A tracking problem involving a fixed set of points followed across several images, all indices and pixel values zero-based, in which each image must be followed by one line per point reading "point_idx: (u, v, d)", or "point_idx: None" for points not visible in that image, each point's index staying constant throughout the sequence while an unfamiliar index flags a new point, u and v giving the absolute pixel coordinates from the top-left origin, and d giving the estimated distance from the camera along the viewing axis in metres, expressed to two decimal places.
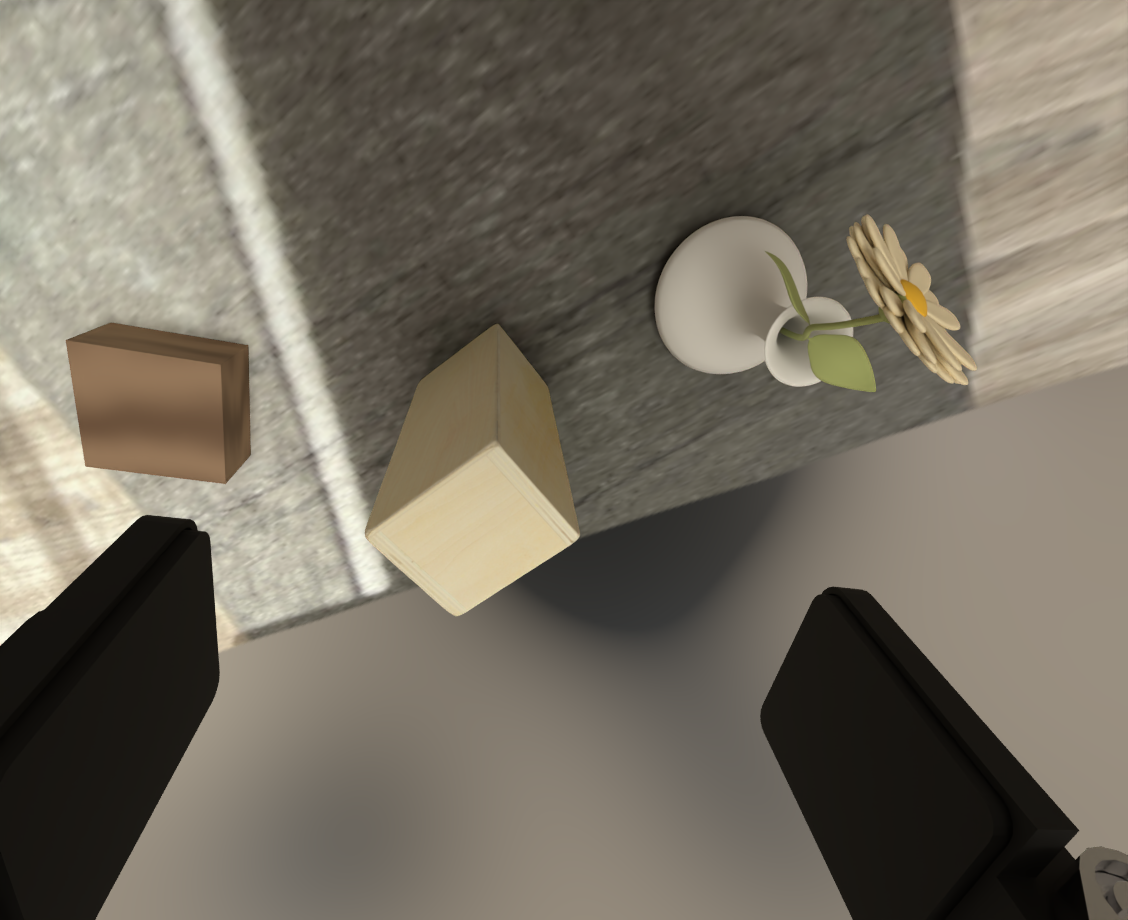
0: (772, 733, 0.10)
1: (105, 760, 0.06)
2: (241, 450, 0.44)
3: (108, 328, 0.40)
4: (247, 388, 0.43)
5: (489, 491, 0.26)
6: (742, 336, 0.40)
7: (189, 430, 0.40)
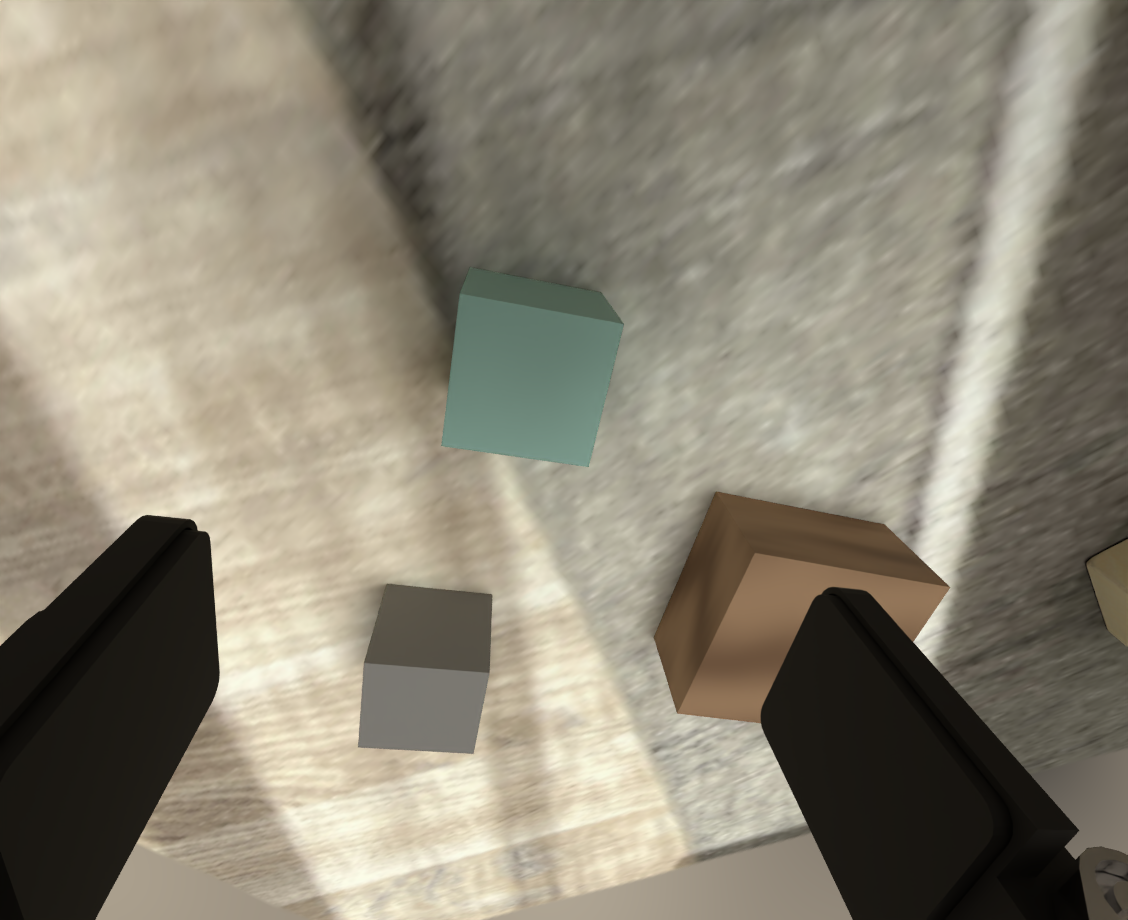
0: (772, 733, 0.10)
1: (105, 760, 0.06)
2: None
3: (736, 508, 0.26)
4: None
5: None
6: None
7: None
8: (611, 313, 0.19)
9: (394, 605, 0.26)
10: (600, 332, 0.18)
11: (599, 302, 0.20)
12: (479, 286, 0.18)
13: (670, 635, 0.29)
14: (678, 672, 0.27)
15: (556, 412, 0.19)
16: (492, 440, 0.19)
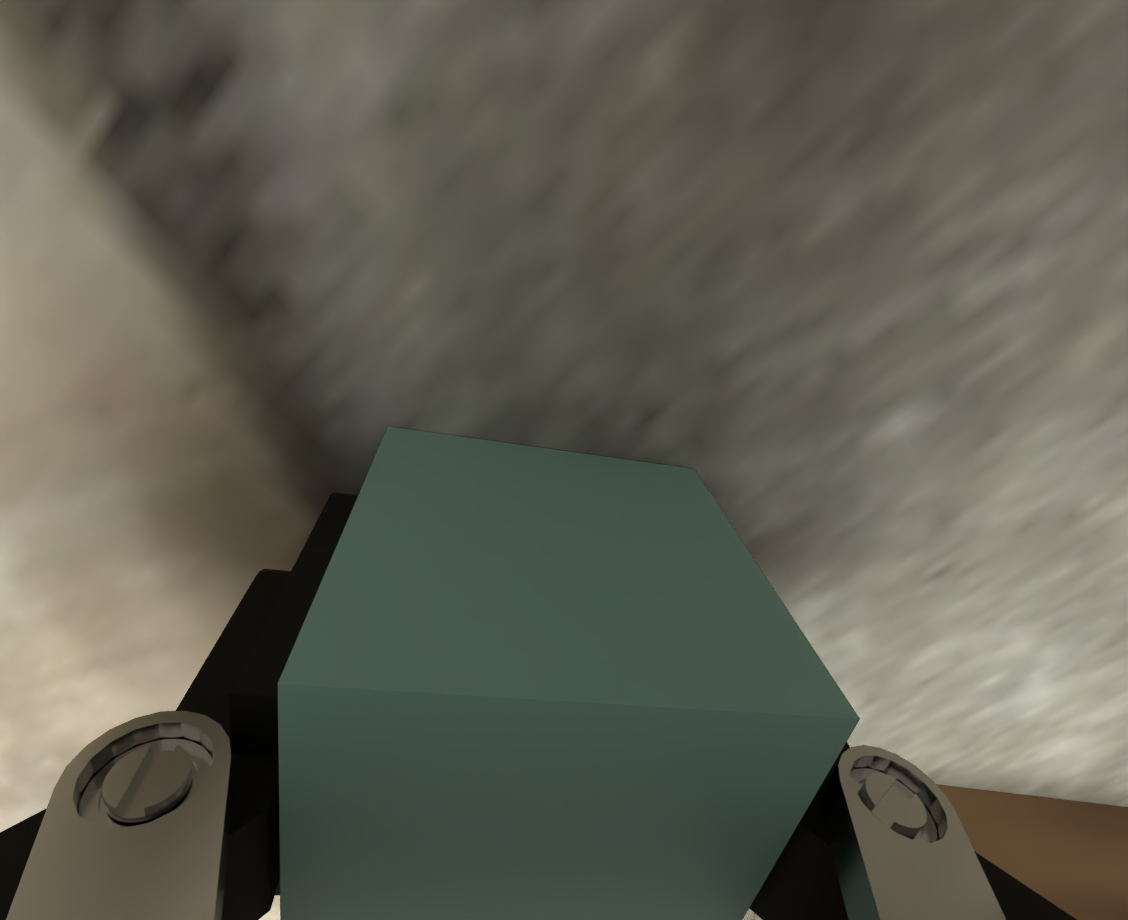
0: None
1: None
2: None
3: None
4: None
5: None
6: None
7: None
8: (780, 620, 0.06)
9: None
10: (780, 745, 0.05)
11: (718, 541, 0.08)
12: (383, 562, 0.06)
13: None
14: None
15: (619, 915, 0.06)
16: None
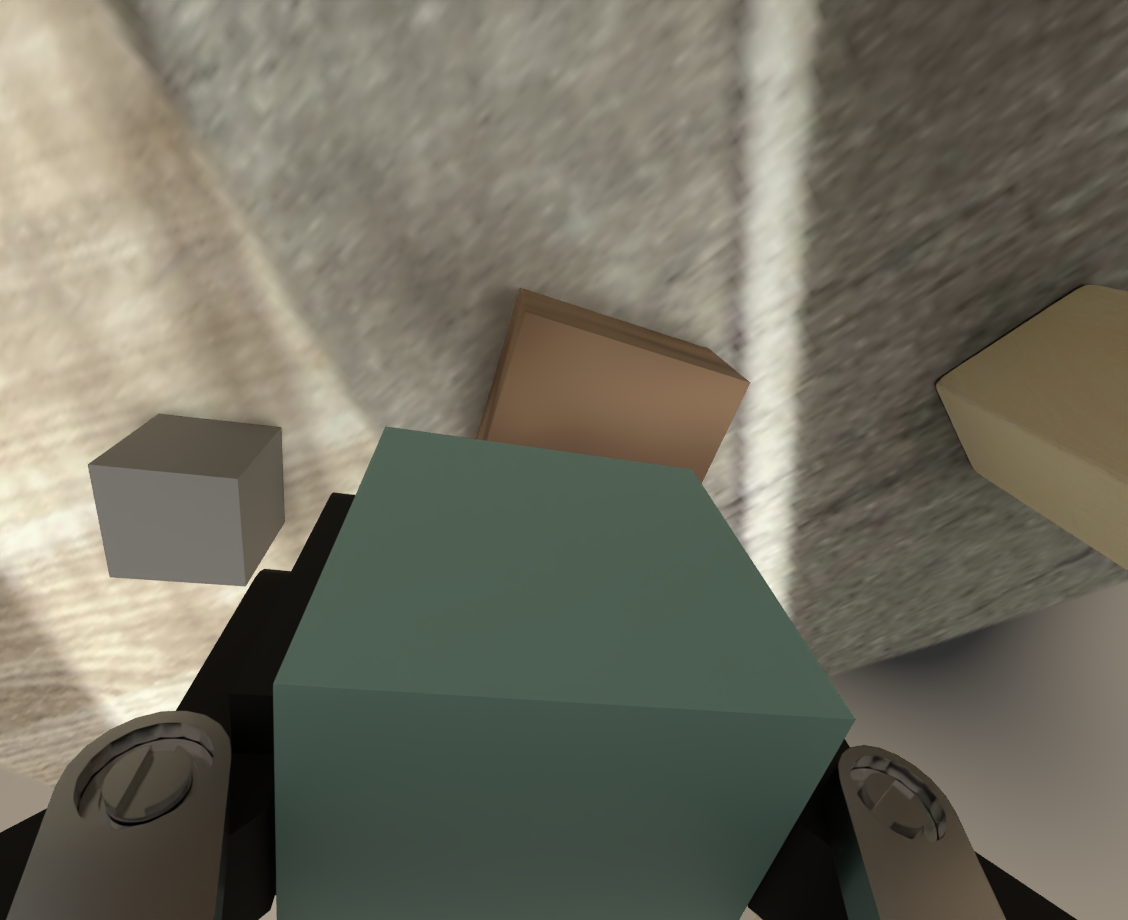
0: None
1: None
2: None
3: (534, 297, 0.23)
4: None
5: None
6: None
7: None
8: (776, 621, 0.06)
9: (156, 428, 0.24)
10: (775, 745, 0.05)
11: (715, 541, 0.08)
12: (379, 562, 0.06)
13: None
14: None
15: (616, 915, 0.06)
16: None
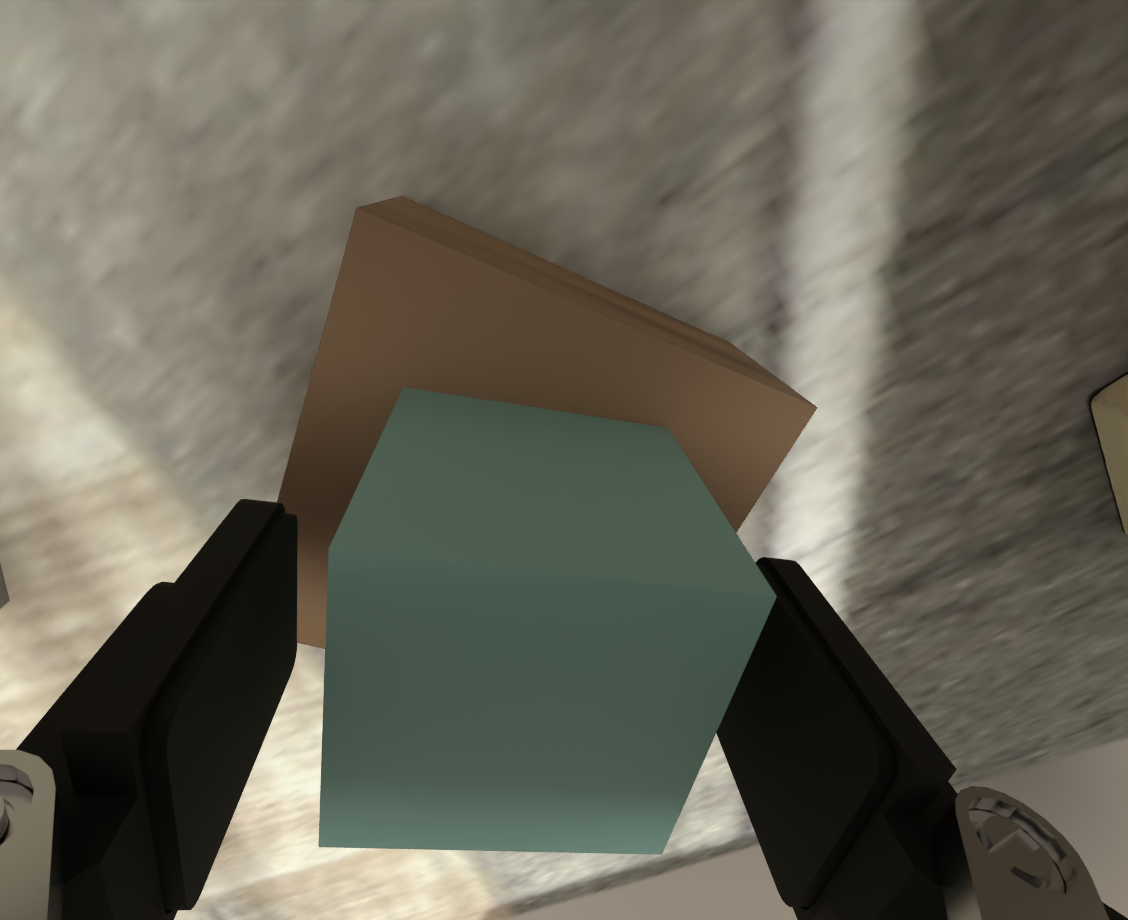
0: None
1: (229, 713, 0.07)
2: None
3: (416, 209, 0.12)
4: None
5: None
6: None
7: None
8: (724, 533, 0.08)
9: None
10: (713, 617, 0.07)
11: (681, 479, 0.09)
12: (403, 480, 0.07)
13: None
14: None
15: (592, 772, 0.08)
16: (442, 829, 0.08)
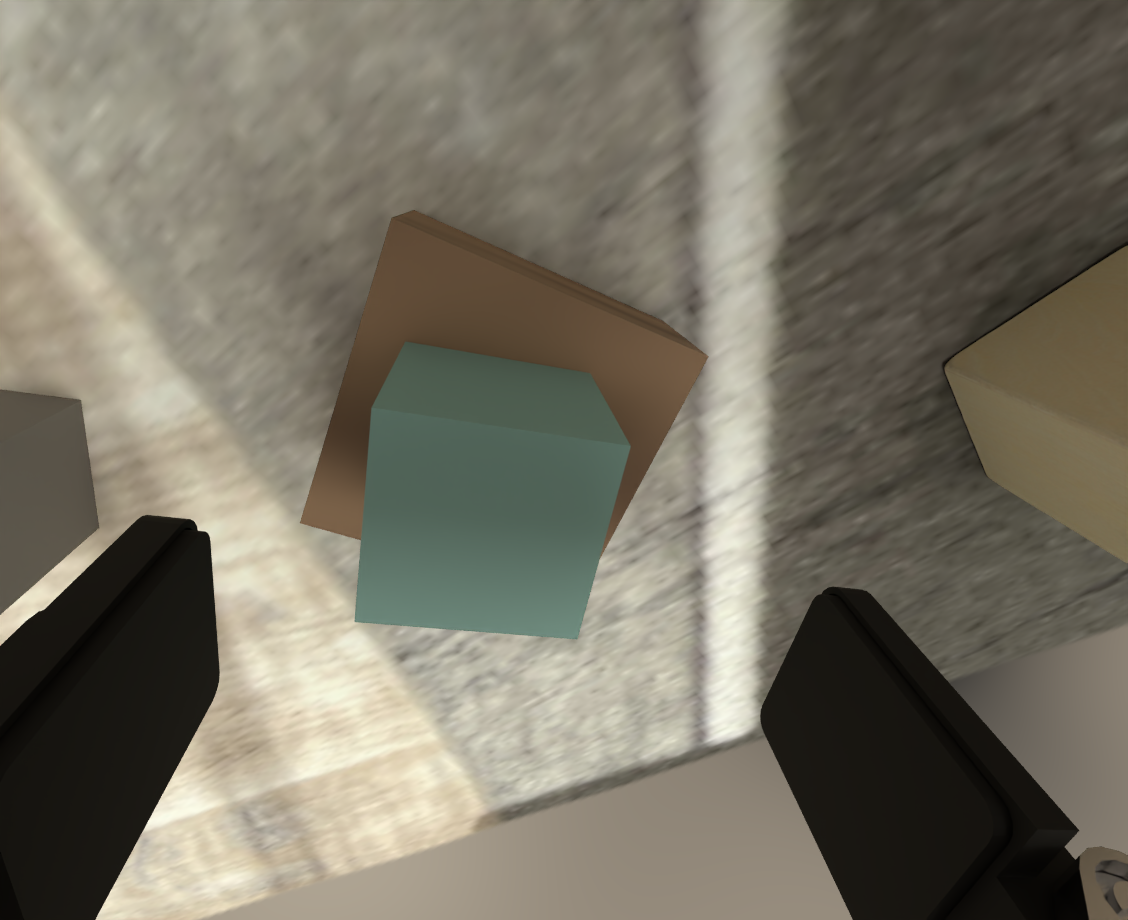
0: (772, 733, 0.10)
1: (105, 760, 0.06)
2: None
3: (426, 219, 0.17)
4: None
5: None
6: None
7: None
8: (609, 421, 0.13)
9: None
10: (595, 459, 0.12)
11: (590, 397, 0.14)
12: (409, 384, 0.12)
13: None
14: None
15: (527, 569, 0.13)
16: (433, 612, 0.13)
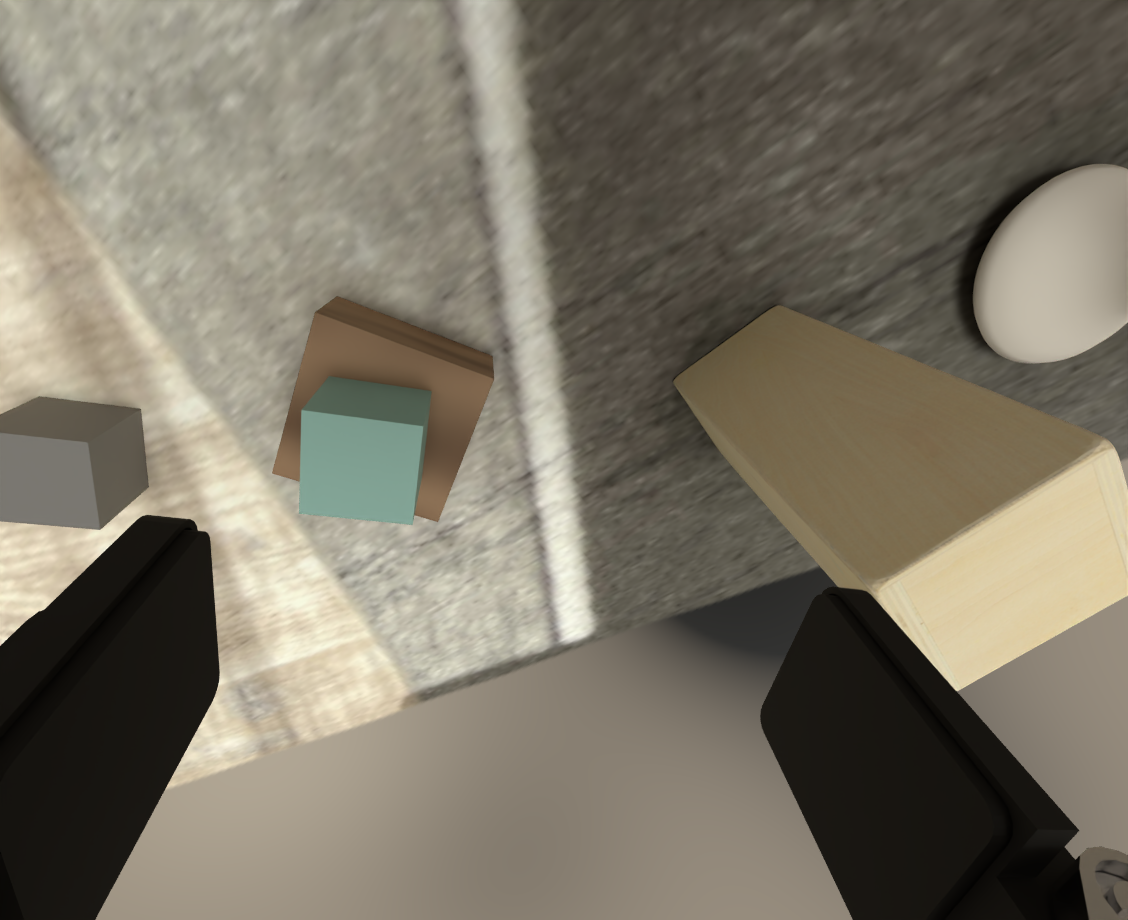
0: (772, 733, 0.10)
1: (105, 760, 0.06)
2: None
3: (342, 304, 0.31)
4: None
5: (1071, 517, 0.17)
6: (1119, 311, 0.31)
7: None
8: (421, 415, 0.26)
9: (33, 406, 0.31)
10: (406, 432, 0.25)
11: (420, 404, 0.28)
12: (323, 399, 0.26)
13: None
14: None
15: (382, 487, 0.26)
16: (337, 508, 0.26)
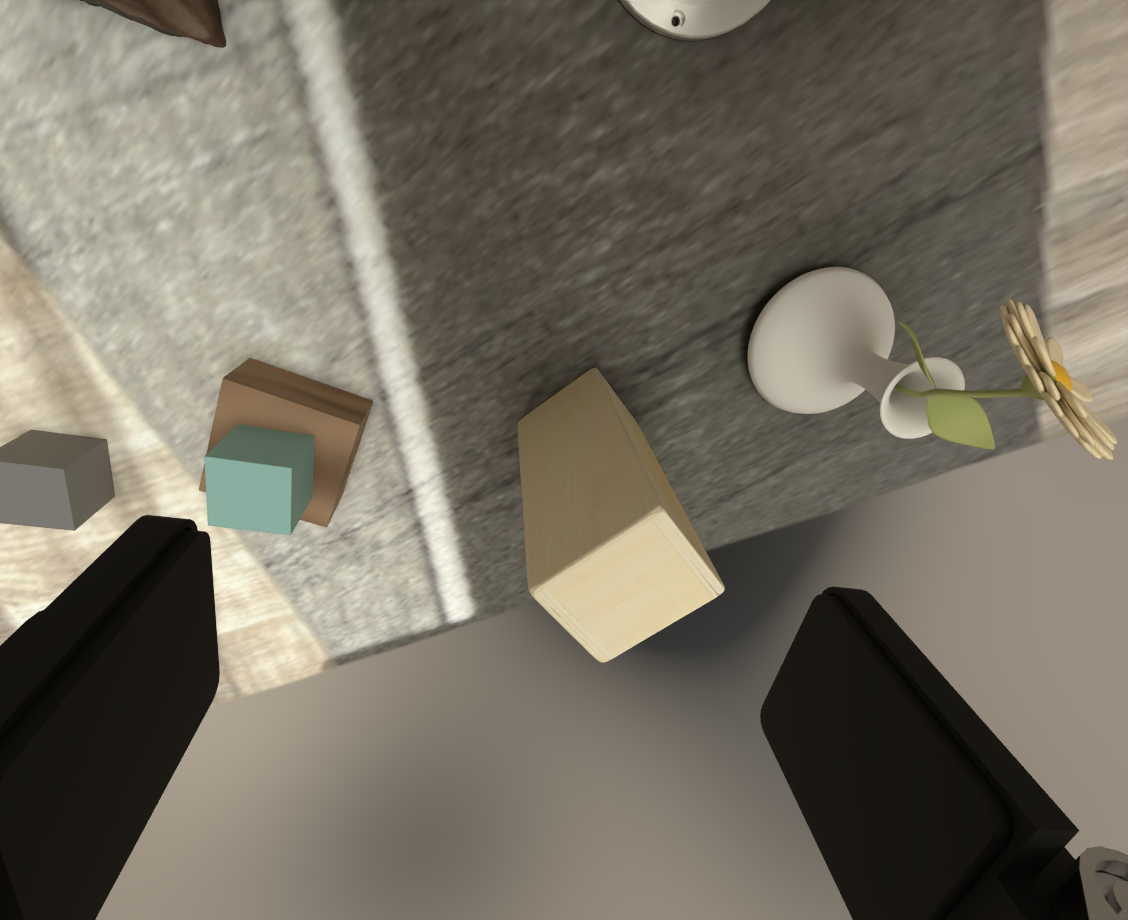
0: (772, 733, 0.10)
1: (105, 760, 0.06)
2: (340, 494, 0.46)
3: (251, 365, 0.41)
4: (360, 438, 0.46)
5: (650, 551, 0.28)
6: (838, 382, 0.41)
7: None
8: (294, 458, 0.37)
9: (26, 438, 0.42)
10: (280, 472, 0.36)
11: (299, 448, 0.38)
12: (224, 446, 0.37)
13: None
14: None
15: (266, 508, 0.37)
16: (235, 522, 0.37)
